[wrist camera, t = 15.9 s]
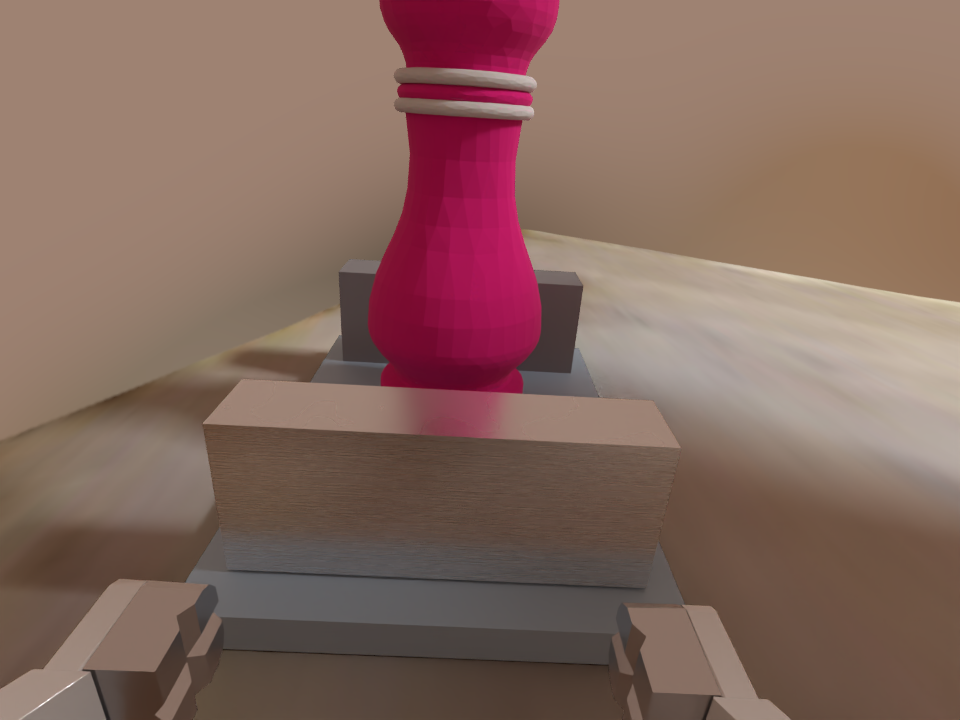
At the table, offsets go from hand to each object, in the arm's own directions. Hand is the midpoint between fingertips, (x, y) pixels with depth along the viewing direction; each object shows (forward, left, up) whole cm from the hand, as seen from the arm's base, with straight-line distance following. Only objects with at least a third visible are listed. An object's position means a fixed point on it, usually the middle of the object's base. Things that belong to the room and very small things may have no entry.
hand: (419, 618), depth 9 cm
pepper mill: (0, -15, -5) cm, 16 cm away
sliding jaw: (0, -6, -4) cm, 8 cm away
